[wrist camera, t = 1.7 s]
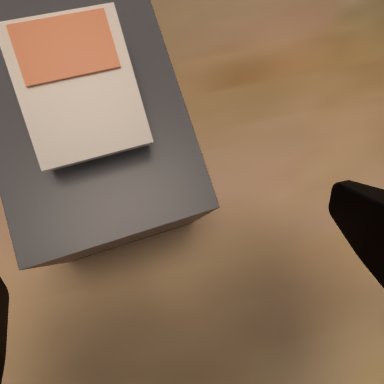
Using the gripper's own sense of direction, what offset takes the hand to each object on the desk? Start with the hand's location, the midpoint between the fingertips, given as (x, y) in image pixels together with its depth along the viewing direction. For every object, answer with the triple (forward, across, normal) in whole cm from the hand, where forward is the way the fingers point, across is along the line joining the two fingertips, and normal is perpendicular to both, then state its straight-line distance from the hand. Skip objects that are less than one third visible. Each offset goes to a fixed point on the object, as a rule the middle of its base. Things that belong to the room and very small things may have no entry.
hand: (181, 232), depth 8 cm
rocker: (+6, +2, -2) cm, 7 cm away
